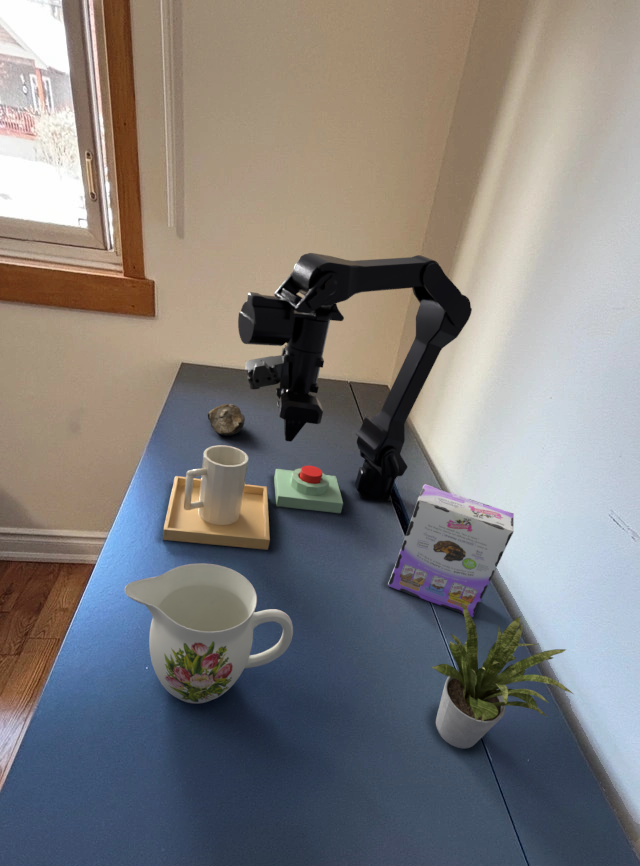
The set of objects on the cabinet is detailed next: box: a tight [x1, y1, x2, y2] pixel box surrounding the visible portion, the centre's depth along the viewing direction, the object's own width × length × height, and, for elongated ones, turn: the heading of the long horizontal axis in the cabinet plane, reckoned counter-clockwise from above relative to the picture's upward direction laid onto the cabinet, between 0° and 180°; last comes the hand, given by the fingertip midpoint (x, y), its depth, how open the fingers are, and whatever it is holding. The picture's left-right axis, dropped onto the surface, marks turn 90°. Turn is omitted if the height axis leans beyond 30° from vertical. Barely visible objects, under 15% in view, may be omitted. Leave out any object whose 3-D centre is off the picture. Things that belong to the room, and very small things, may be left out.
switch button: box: [300, 465, 323, 484], centre depth 99 cm, size 4×4×2 cm
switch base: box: [273, 467, 344, 514], centre depth 100 cm, size 12×10×4 cm
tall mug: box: [184, 444, 250, 525], centre depth 86 cm, size 10×7×11 cm
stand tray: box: [162, 475, 271, 551], centre depth 90 cm, size 16×16×2 cm
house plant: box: [430, 601, 574, 749], centre depth 58 cm, size 14×14×16 cm
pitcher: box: [124, 562, 294, 704], centre depth 59 cm, size 11×18×14 cm, turn 101°
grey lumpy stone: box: [207, 403, 246, 436], centre depth 116 cm, size 8×7×10 cm
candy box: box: [387, 483, 515, 618], centre depth 80 cm, size 14×6×16 cm, turn 71°
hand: (288, 438), depth 90 cm, fingers closed
